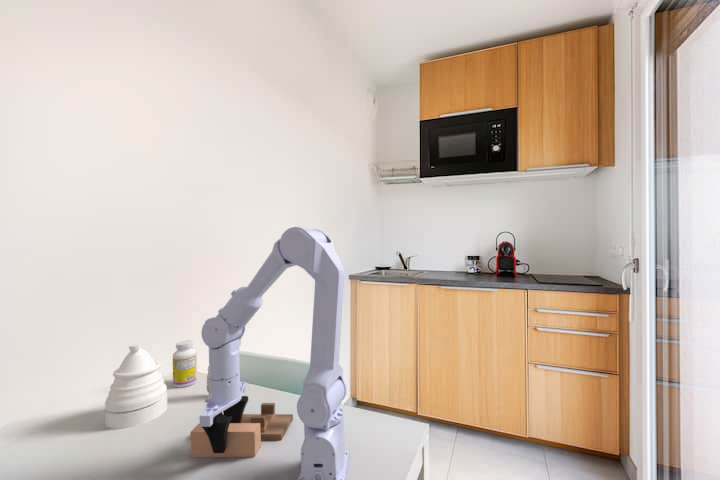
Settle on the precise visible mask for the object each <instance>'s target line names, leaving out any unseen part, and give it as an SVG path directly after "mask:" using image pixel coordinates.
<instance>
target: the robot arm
mask: <svg viewBox="0 0 720 480" xmlns="http://www.w3.org/2000/svg"><path fill="white" fill-rule="evenodd" d="M334 244H335V243H334V240H333V239H332V238H330V237H329V235H327V234H326V233H325V232H324V231H322V230H319V229H309V228H308V229H307V228H302V227H299V226H293V227H290V228H287V229H286V230H285V231H284V232H283V233H282V234H281V236H280V238H279V239H277V241H275V242H274V244H273V247H272V250H271V252H270V253H269V255H268V256H267V258H266V259H265V261H264V262H263V263H262V265H261V267H260V268H259V270H258V271H257V272H256V273H255V275H254V276H253V278H252V280H251V281H250V282H249V283H248V285H247V286H240V287H238V288H237V289H234V290H232V292H230V295H231V297H230V298H229V300H228V301H227V302H226V303H225V305H224V306H223V307H221V308H220V309H219V310H218V314H217V315H216V316H215V317H214V316H213V317H211V318H207V319H206V320H204V321H205V322H204V324H203V325H202V327H201V334H200V335H201V339H202V341H203V343H204V345H206V346H207V347H208V366H209V384H210V394H208V395H207V396H206V397H205V398H204V403H206V406H205V408H204V410H203V412H202V413H201V414H200V415H199V423H200V427H202V428H203V429H204V430H205V432H206V434H207V436H208V438H209V440H210V443H211V447H212V450H213V453H224V452H225V449H226V444H227V433H228V428H229V424H230V423H241V420H242V415H243V414H244V411H245V408H246V406H247V404H248V401H249V396H248V395H243V393H245V392H246V391H247V381H241V370H240V368H241V367H240V366H241V364H240V363H241V361H240V347H241V344H242V338H243V336H244V334H245V332H246V326H247V324H248V323H249V322H250V321H251V320H252V319H253V317H254V315H255V314H256V313H257V312H258V311H259V310H260V308H261V307H262V306H263V302H264V301H263V295H264V294H265V293H266V292H267V291H268V290H269V289H270V288H271V287H272V286H273V285H274V284H275V282H276V281H277V280H279V278H280V277H281V276H282V274H283V273H284V272H285V271H286V270H287V269H290V268H292V267H295V266H298V267H299V268H301V269H303V270H304V271H305V272H306V273H307V274H308V275H309V276H310V277H311V278H312V279H313V280H314V293H313V294H314V296H313V310H312V324H311V325H312V328H311V341H310V342H311V345H310V357H309V358H310V361H309V368H308V371H307V373H306V376H305V378H304V381H303V384H302V385H303V386H302V392H301V395H300V396H299V398H298V399H297V400H298V401H297V404H296V412H297V415H298V418H299V420H300V421H301V422H302V423H303V427H304V428H303V429H304V430H303V431H304V434H303V435H304V438H303V443H302V445H301V449H300V469H301V470H300V473H299V475H298V478H297V480H345V479H346V475H347V470H348V462H349V458H350V451H349V450H347V449H346V450H345V427H344V426H345V425H344V424H345V423H344V421H345V420H344V411H343V407H342V402H343V400H344V399H345V398H346V395H347V390H348V389H347V384H346V382H345V379H344V369H343V367H342V365H340V364H339V362H340V352H341V351H340V350H341V349H340V348H341V333H342V332H341V331H342V316H343V300H344V299H343V298H344V282H345V281H344V279H345V268H344V266H343V263H342V261H341V259H340V257H339V255H338V252H337V251H336V248H335V245H334ZM222 414H223V415H222Z"/></svg>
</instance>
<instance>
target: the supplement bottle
mask: <svg viewBox="0 0 720 480" xmlns="http://www.w3.org/2000/svg"><path fill="white" fill-rule="evenodd" d="M175 343H176V342H175ZM175 349H176V350H175V351H174V353H173V354H172V382H173V383H172V384H173V387H175V388H186V387H190V386H192V385H195V384H196V382H198V351H197V349H195V348H194V340H191V339H190V340H182V341H178V342H177V343H176V344H175Z"/></svg>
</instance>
